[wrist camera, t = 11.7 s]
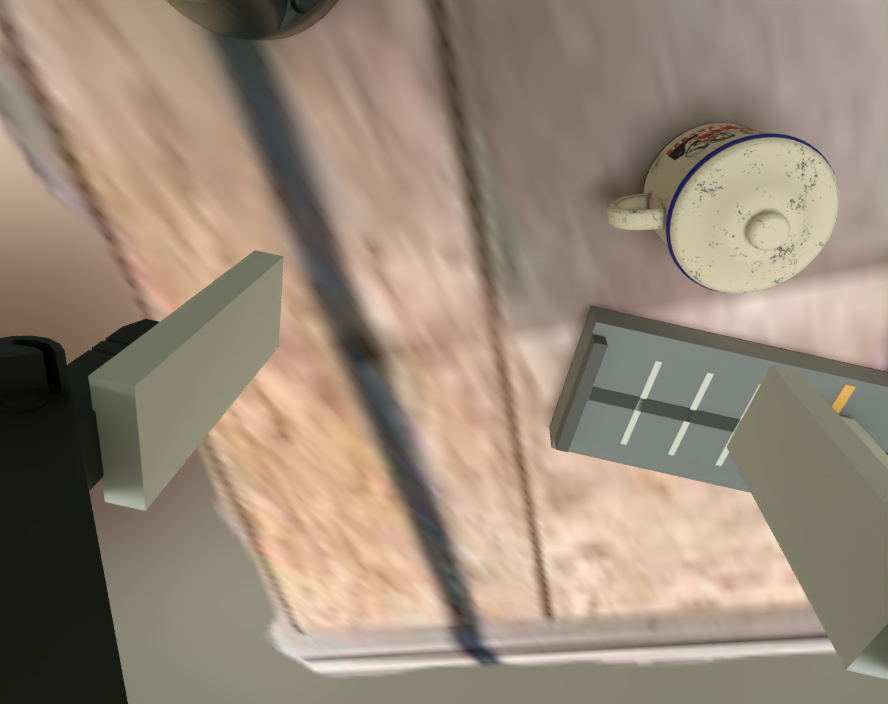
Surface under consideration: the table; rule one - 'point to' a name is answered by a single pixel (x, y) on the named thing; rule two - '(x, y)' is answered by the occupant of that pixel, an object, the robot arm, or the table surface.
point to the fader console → (687, 395)
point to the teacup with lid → (735, 206)
